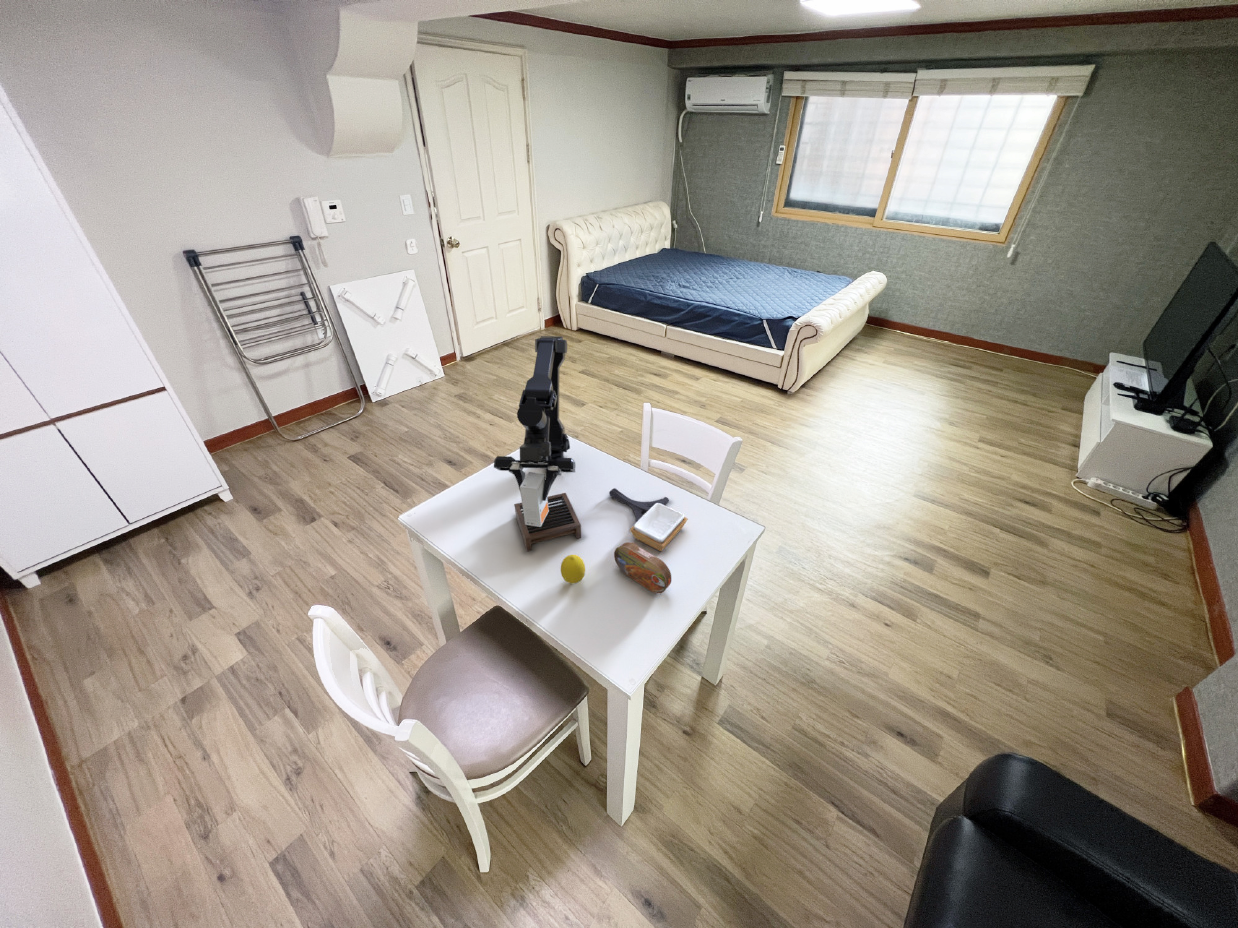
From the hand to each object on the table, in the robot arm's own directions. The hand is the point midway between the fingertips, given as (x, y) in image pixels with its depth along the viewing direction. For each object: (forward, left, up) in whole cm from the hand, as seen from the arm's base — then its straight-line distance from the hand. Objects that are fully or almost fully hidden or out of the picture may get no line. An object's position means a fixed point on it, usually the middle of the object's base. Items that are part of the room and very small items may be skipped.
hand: (533, 500), depth 116 cm
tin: (+21, +20, -13) cm, 32 cm away
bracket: (-4, +28, -13) cm, 31 cm away
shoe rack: (-4, +4, -13) cm, 14 cm away
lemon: (+16, +4, -13) cm, 21 cm away
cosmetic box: (-1, +1, -7) cm, 7 cm away
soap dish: (+9, +29, -13) cm, 34 cm away
